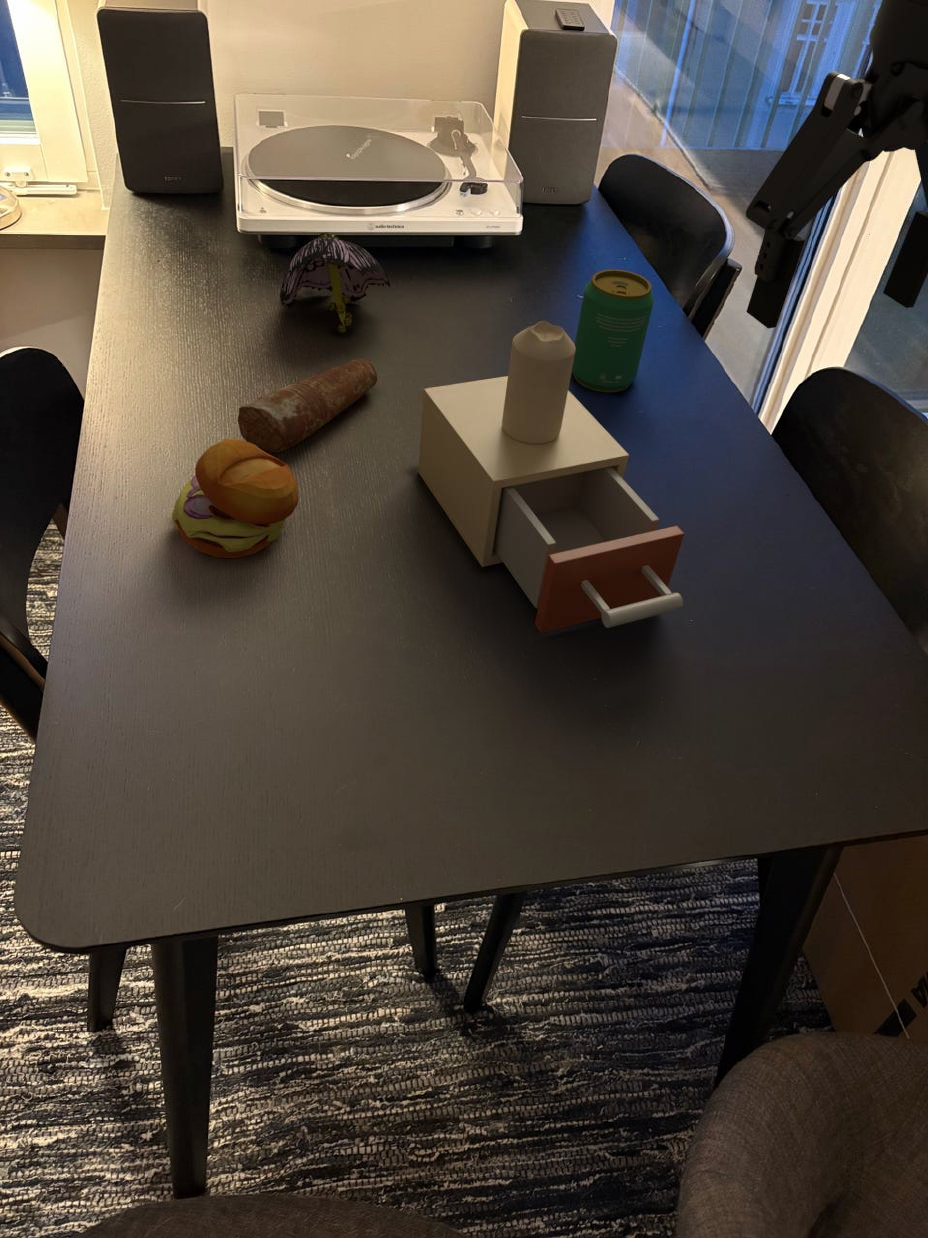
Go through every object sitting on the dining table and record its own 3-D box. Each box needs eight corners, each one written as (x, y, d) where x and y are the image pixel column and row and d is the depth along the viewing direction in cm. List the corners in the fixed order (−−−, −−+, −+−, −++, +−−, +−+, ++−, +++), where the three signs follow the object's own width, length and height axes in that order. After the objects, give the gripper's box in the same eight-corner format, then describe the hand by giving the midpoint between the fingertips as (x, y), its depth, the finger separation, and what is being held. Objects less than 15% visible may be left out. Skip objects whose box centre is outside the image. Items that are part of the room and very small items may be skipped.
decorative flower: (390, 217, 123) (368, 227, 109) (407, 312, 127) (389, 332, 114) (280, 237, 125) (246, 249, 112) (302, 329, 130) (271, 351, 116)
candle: (504, 444, 88) (518, 342, 81) (498, 411, 92) (511, 311, 85) (564, 446, 88) (583, 345, 81) (555, 413, 92) (573, 315, 85)
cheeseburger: (186, 490, 94) (201, 405, 88) (293, 522, 96) (316, 442, 90) (156, 555, 87) (170, 467, 80) (272, 589, 89) (296, 506, 82)
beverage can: (633, 365, 121) (655, 272, 112) (635, 398, 115) (658, 302, 107) (570, 356, 121) (586, 263, 113) (568, 389, 115) (586, 293, 107)
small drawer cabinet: (608, 538, 95) (629, 454, 88) (482, 567, 90) (493, 481, 83) (535, 450, 105) (549, 369, 98) (417, 472, 100) (423, 388, 93)
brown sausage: (233, 446, 101) (229, 399, 97) (351, 377, 113) (351, 333, 109) (279, 470, 98) (276, 422, 94) (394, 397, 110) (396, 352, 106)
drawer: (695, 640, 84) (720, 571, 79) (569, 675, 80) (586, 605, 74) (584, 507, 97) (599, 440, 91) (470, 531, 92) (478, 462, 87)
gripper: (1044, -25, 67) (917, 272, 81) (753, -29, 58) (670, 305, 73) (1136, 2, 62) (984, 313, 77) (835, 2, 53) (728, 353, 68)
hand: (831, 309), depth 75 cm, fingers open, 13 cm apart
